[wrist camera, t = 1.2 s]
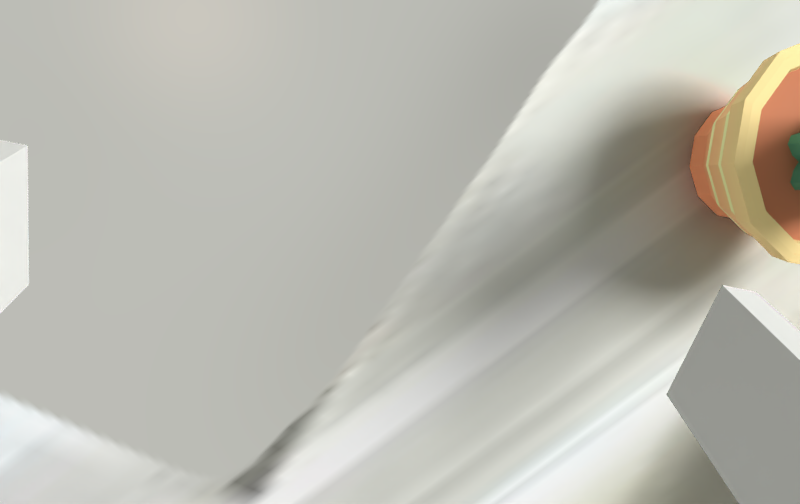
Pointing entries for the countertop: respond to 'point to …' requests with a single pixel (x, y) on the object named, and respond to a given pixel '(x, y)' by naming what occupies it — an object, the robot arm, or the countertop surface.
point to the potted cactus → (756, 157)
